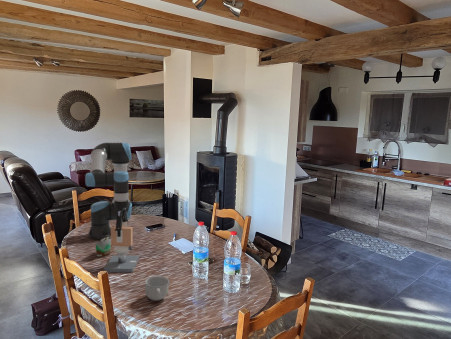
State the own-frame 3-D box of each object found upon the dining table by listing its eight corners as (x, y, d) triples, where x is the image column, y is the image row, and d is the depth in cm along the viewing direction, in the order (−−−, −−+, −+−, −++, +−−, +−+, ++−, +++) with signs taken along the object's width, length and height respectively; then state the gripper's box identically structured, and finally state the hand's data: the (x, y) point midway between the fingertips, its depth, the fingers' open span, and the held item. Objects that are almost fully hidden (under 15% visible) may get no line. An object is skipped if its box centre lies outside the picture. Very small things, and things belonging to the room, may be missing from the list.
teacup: (147, 290, 152) (147, 275, 150) (170, 290, 153) (170, 275, 151) (142, 307, 138) (142, 290, 137) (167, 307, 139) (167, 290, 138)
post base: (112, 258, 185) (112, 244, 184) (138, 258, 186) (138, 245, 185) (103, 272, 168) (103, 257, 167) (132, 272, 169) (132, 257, 168)
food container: (104, 259, 183) (104, 243, 182) (95, 258, 185) (94, 241, 183) (116, 251, 195) (116, 235, 194) (107, 250, 196) (106, 234, 195)
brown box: (109, 252, 172) (109, 229, 170) (114, 247, 180) (114, 224, 178) (129, 253, 172) (129, 230, 170) (134, 248, 180) (134, 225, 178)
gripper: (124, 206, 160) (124, 246, 163) (132, 194, 184) (132, 229, 187) (108, 206, 159) (109, 246, 162) (118, 194, 183) (119, 229, 186)
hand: (121, 237), depth 175 cm, fingers open, 13 cm apart
